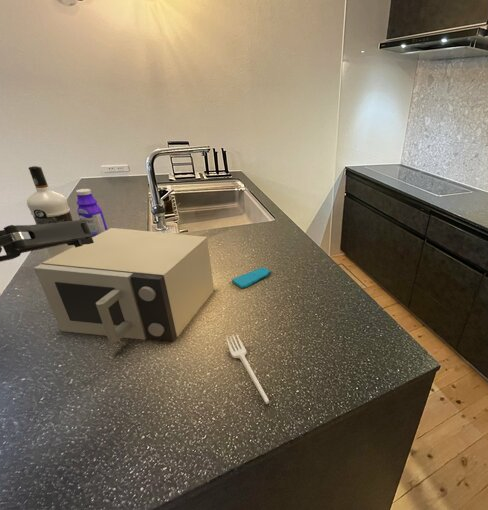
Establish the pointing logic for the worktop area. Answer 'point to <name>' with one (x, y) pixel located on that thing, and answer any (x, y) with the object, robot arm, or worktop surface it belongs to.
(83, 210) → the bottle
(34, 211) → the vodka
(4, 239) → the robot arm
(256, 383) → the fork
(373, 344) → the worktop surface
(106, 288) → the microwave door
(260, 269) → the sponge
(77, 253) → the microwave
